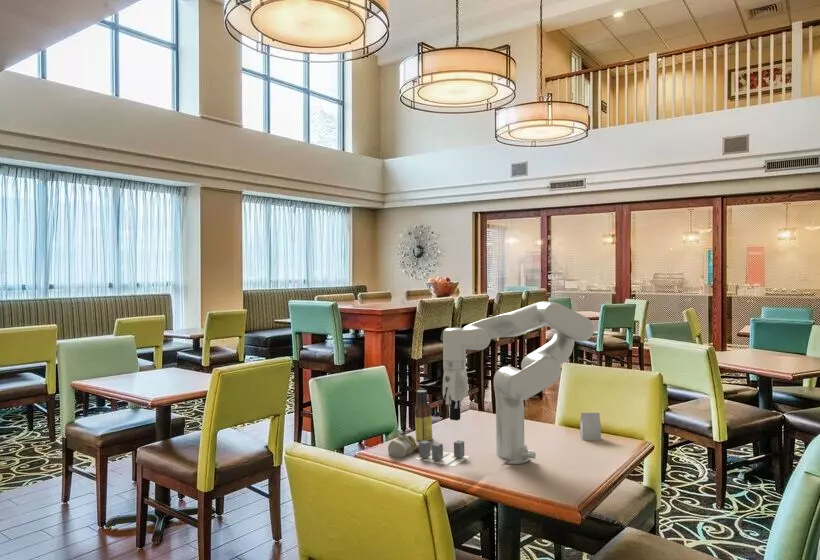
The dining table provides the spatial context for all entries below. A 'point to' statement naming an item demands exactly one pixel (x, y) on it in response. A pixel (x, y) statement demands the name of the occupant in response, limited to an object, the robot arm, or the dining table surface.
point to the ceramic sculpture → (402, 446)
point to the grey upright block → (590, 426)
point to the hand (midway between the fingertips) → (455, 419)
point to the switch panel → (445, 459)
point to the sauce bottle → (423, 417)
